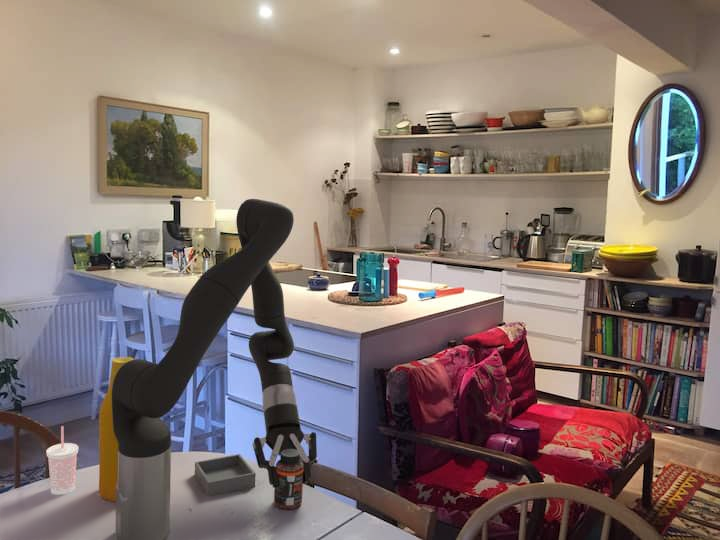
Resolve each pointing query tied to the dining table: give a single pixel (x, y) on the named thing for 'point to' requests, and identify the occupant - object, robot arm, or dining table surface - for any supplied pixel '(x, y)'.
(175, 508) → the dining table surface
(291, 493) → the supplement bottle
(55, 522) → the dining table surface
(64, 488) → the beverage cup
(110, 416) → the yellow bottle
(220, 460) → the tray
